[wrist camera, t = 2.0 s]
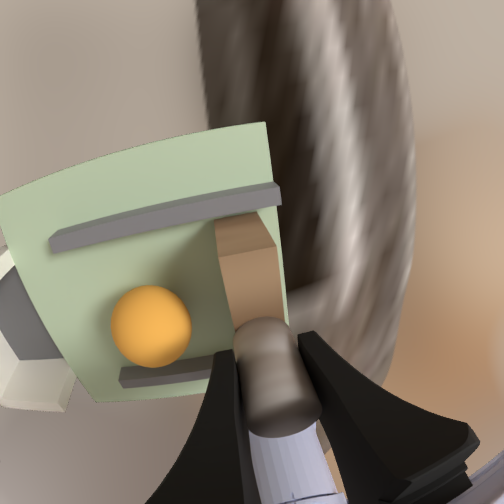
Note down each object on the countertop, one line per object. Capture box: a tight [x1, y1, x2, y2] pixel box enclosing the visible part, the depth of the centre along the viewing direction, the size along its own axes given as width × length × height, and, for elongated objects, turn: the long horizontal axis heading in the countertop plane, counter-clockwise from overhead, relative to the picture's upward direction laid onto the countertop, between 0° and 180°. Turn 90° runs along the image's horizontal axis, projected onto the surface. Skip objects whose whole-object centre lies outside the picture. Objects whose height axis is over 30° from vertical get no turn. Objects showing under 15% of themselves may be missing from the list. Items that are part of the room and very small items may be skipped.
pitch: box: [0, 122, 289, 412], centre depth 14 cm, size 16×22×4 cm
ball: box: [111, 285, 192, 368], centre depth 13 cm, size 4×4×4 cm
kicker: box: [214, 211, 322, 438], centre depth 12 cm, size 8×2×8 cm, turn 8°
